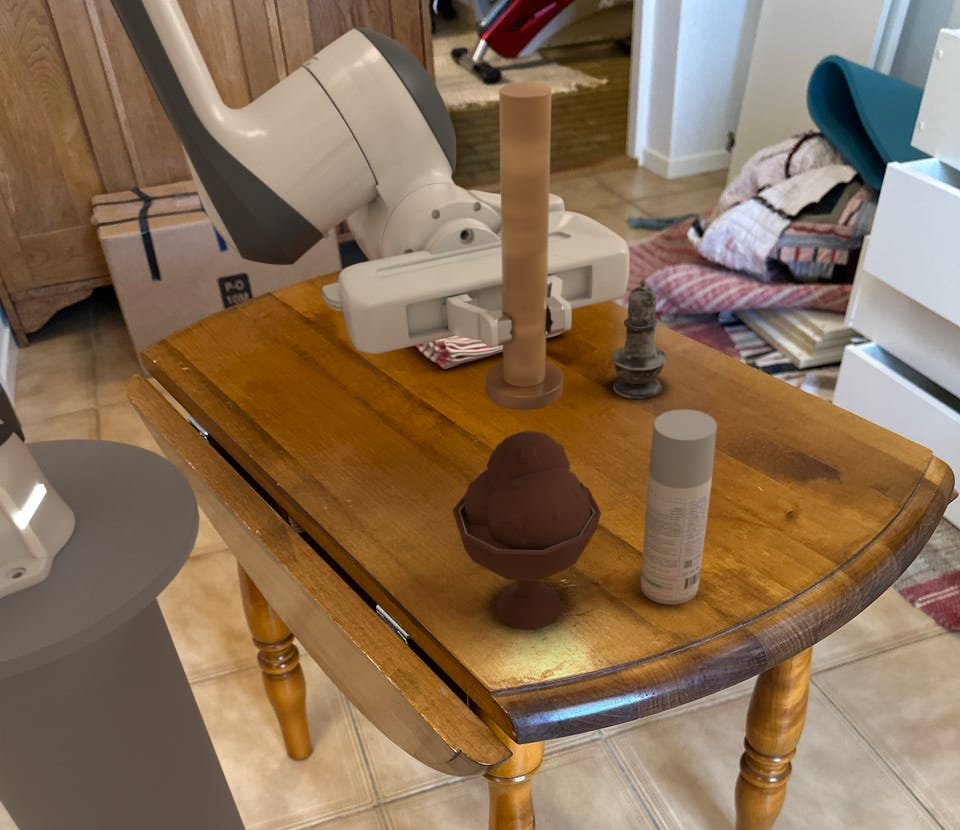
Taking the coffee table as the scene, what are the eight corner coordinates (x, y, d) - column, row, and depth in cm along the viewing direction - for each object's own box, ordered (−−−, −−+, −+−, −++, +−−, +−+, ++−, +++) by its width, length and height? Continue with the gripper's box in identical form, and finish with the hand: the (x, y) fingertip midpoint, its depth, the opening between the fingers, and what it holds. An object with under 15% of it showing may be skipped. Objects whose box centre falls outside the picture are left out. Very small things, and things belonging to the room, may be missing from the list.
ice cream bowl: (439, 596, 77) (420, 437, 67) (552, 551, 81) (550, 394, 71) (502, 671, 70) (492, 505, 60) (623, 618, 74) (632, 454, 64)
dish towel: (445, 375, 107) (443, 346, 105) (367, 308, 123) (363, 282, 121) (570, 337, 113) (570, 309, 110) (480, 278, 128) (478, 252, 126)
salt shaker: (650, 371, 105) (657, 264, 97) (673, 393, 101) (683, 283, 93) (602, 381, 104) (605, 273, 96) (623, 404, 99) (628, 294, 91)
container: (687, 565, 78) (705, 404, 68) (706, 600, 75) (728, 435, 65) (633, 573, 78) (644, 413, 68) (650, 609, 75) (663, 444, 64)
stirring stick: (524, 419, 60) (526, 110, 47) (469, 390, 63) (456, 91, 50) (578, 389, 62) (594, 87, 50) (523, 363, 65) (524, 70, 52)
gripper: (306, 240, 63) (368, 312, 53) (574, 188, 68) (675, 246, 59) (322, 329, 67) (382, 411, 58) (573, 274, 73) (666, 341, 63)
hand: (532, 327), depth 58 cm, fingers closed on stirring stick, 3 cm apart
